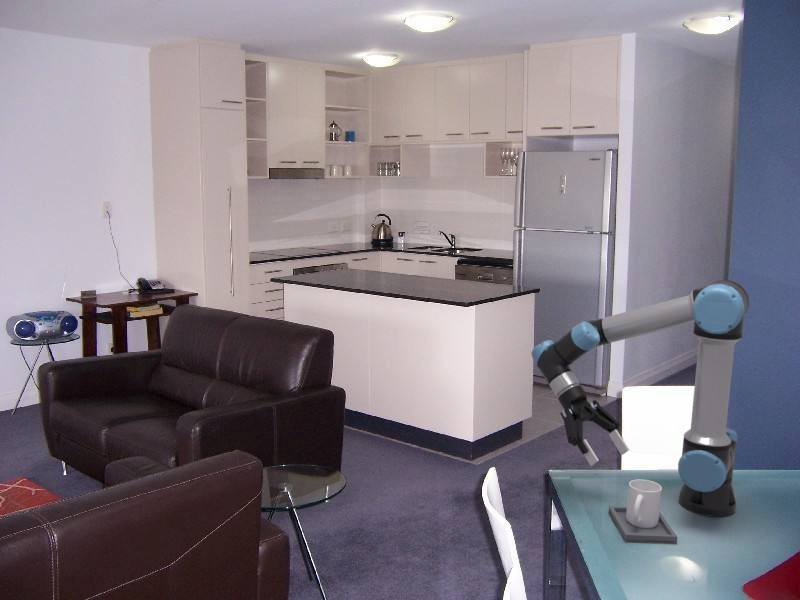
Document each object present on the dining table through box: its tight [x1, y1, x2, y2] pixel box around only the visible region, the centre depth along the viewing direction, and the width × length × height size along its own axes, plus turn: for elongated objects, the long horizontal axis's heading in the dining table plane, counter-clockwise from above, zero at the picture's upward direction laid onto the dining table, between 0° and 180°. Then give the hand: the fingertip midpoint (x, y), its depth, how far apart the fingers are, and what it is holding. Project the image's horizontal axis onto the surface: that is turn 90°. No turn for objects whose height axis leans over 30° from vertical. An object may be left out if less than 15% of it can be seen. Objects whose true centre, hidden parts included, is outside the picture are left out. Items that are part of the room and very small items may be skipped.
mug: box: [626, 478, 663, 528], centre depth 213 cm, size 12×8×10 cm
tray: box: [608, 505, 678, 545], centre depth 213 cm, size 13×17×2 cm
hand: (610, 457), depth 219 cm, fingers open, 13 cm apart
